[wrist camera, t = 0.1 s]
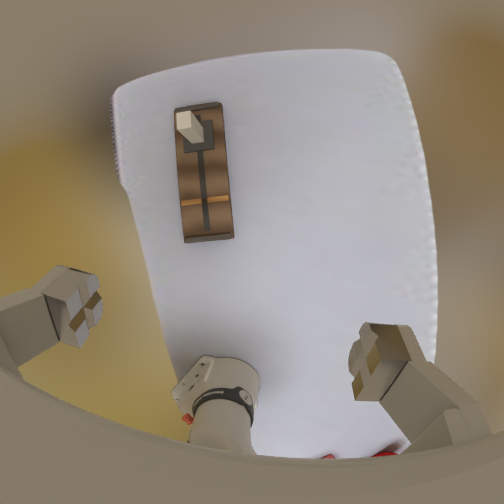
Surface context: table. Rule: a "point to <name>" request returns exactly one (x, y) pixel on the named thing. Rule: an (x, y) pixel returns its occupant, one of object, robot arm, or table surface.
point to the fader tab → (195, 132)
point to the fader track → (204, 181)
